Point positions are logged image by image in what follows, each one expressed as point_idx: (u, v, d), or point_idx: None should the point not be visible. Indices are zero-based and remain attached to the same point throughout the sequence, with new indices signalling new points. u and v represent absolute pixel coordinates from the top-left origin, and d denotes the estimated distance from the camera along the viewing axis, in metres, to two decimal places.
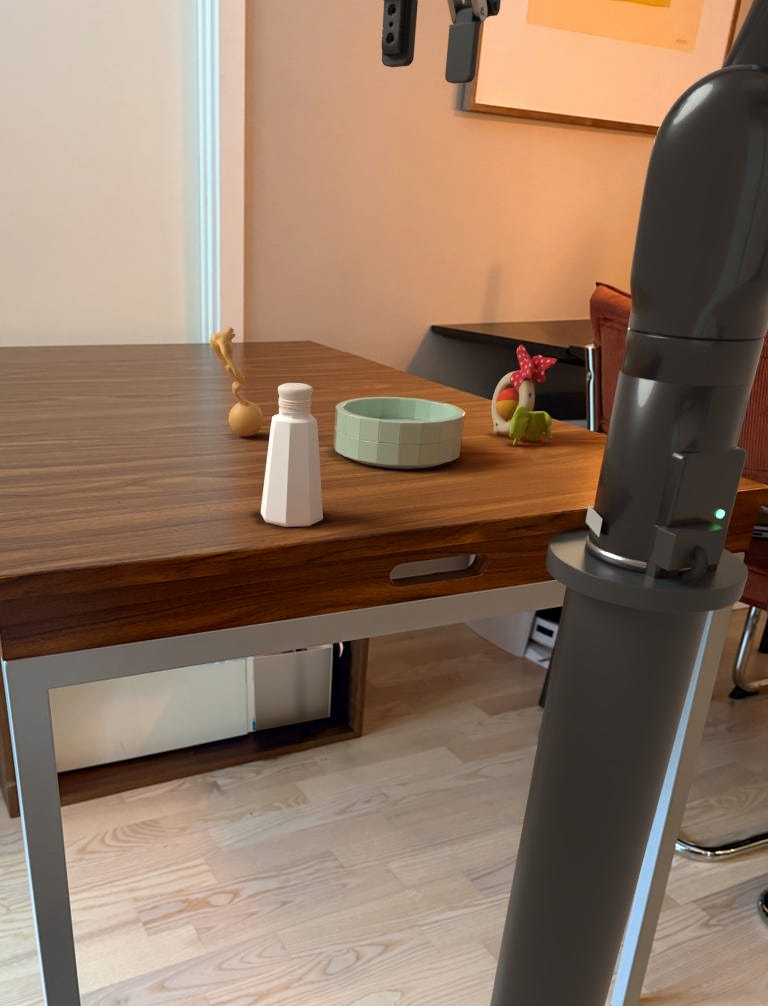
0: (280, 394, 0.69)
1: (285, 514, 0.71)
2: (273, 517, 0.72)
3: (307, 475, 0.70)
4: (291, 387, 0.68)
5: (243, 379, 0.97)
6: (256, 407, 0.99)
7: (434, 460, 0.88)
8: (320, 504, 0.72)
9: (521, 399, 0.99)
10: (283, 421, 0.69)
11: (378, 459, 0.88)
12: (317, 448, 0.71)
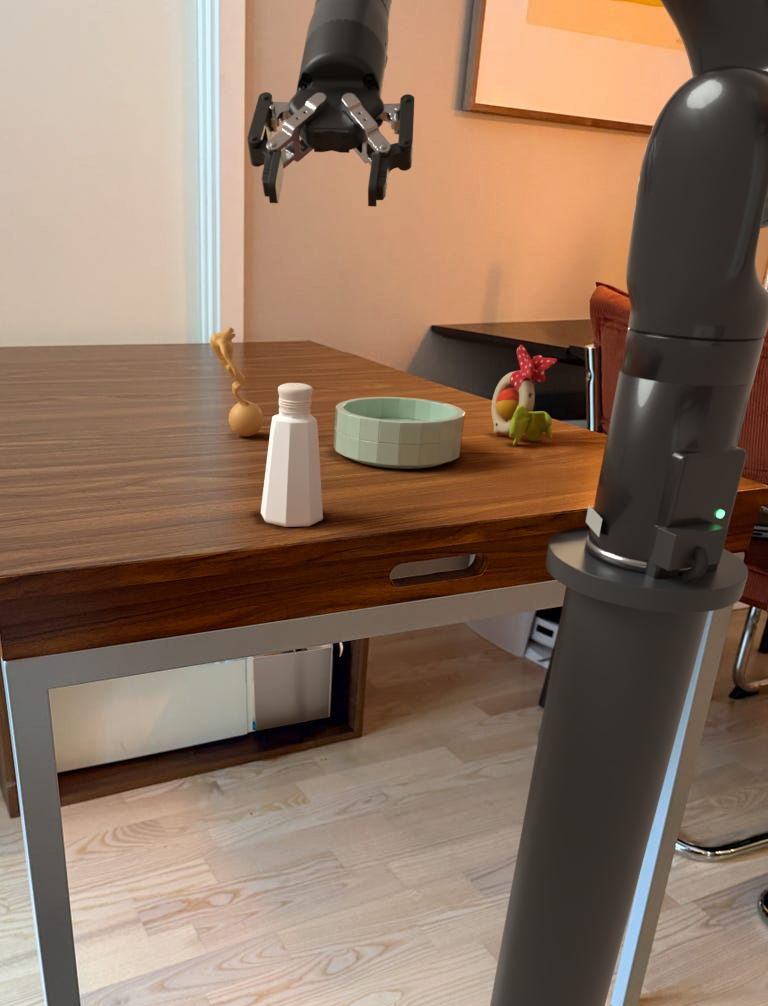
0: (280, 394, 0.69)
1: (285, 514, 0.71)
2: (273, 517, 0.72)
3: (308, 475, 0.70)
4: (291, 387, 0.68)
5: (243, 379, 0.97)
6: (256, 407, 0.99)
7: (434, 460, 0.88)
8: (320, 504, 0.72)
9: (521, 399, 0.99)
10: (283, 421, 0.69)
11: (378, 459, 0.88)
12: (317, 448, 0.71)
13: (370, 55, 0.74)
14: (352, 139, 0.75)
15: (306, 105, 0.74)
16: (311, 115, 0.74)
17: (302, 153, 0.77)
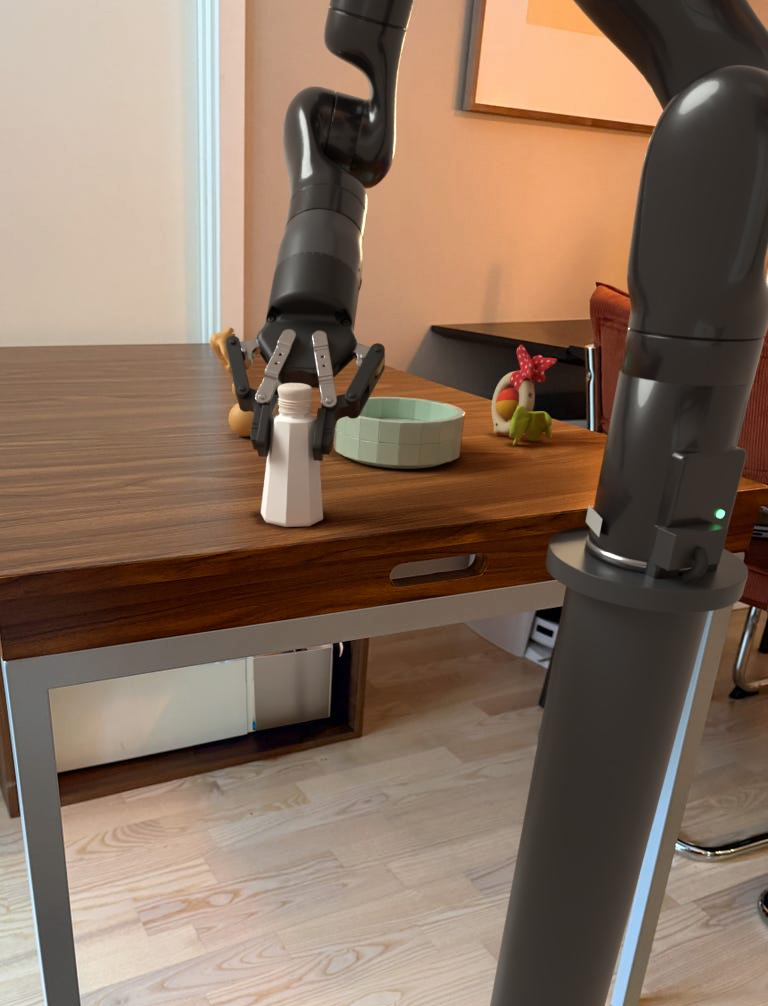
0: (280, 394, 0.69)
1: (285, 514, 0.71)
2: (273, 517, 0.72)
3: (307, 475, 0.70)
4: (291, 387, 0.68)
5: None
6: None
7: (434, 460, 0.88)
8: (320, 504, 0.72)
9: (521, 399, 0.99)
10: (283, 421, 0.69)
11: (378, 459, 0.88)
12: None
13: (342, 290, 0.71)
14: None
15: (278, 346, 0.71)
16: (280, 354, 0.71)
17: None
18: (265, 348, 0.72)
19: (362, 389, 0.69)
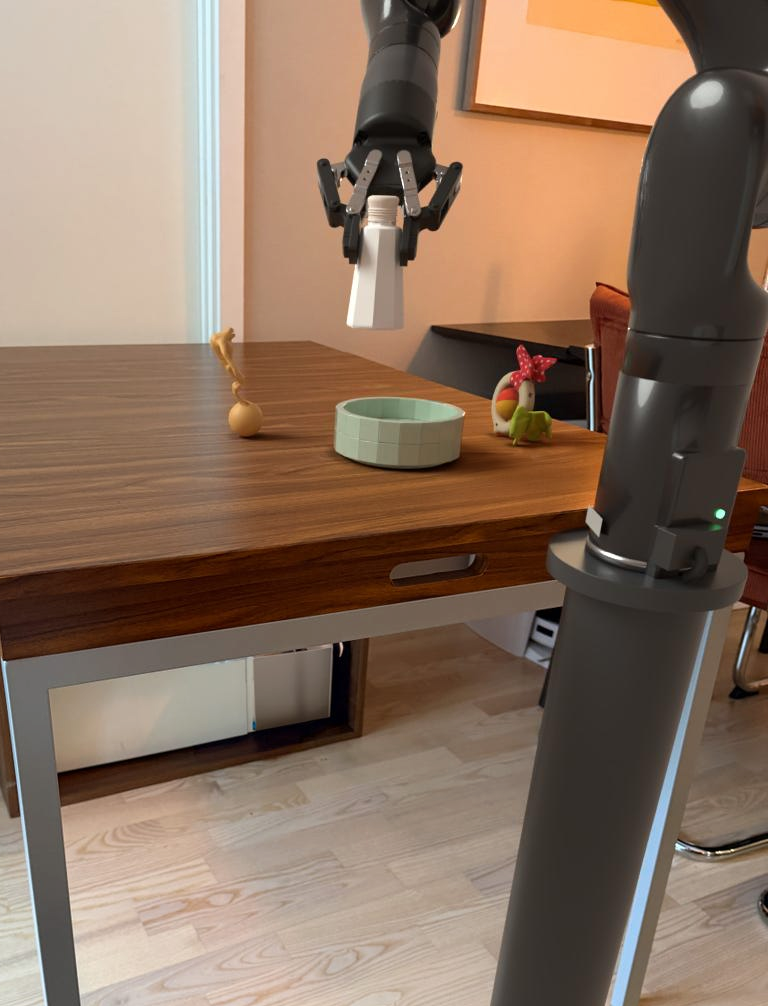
0: (370, 203, 0.76)
1: (372, 317, 0.79)
2: (360, 322, 0.79)
3: (393, 280, 0.78)
4: None
5: (243, 379, 0.97)
6: (256, 407, 0.99)
7: (434, 460, 0.88)
8: (402, 312, 0.80)
9: (521, 399, 0.99)
10: (373, 228, 0.76)
11: (378, 459, 0.88)
12: None
13: (423, 114, 0.78)
14: None
15: (366, 165, 0.78)
16: (368, 171, 0.78)
17: None
18: (353, 168, 0.79)
19: (444, 200, 0.77)
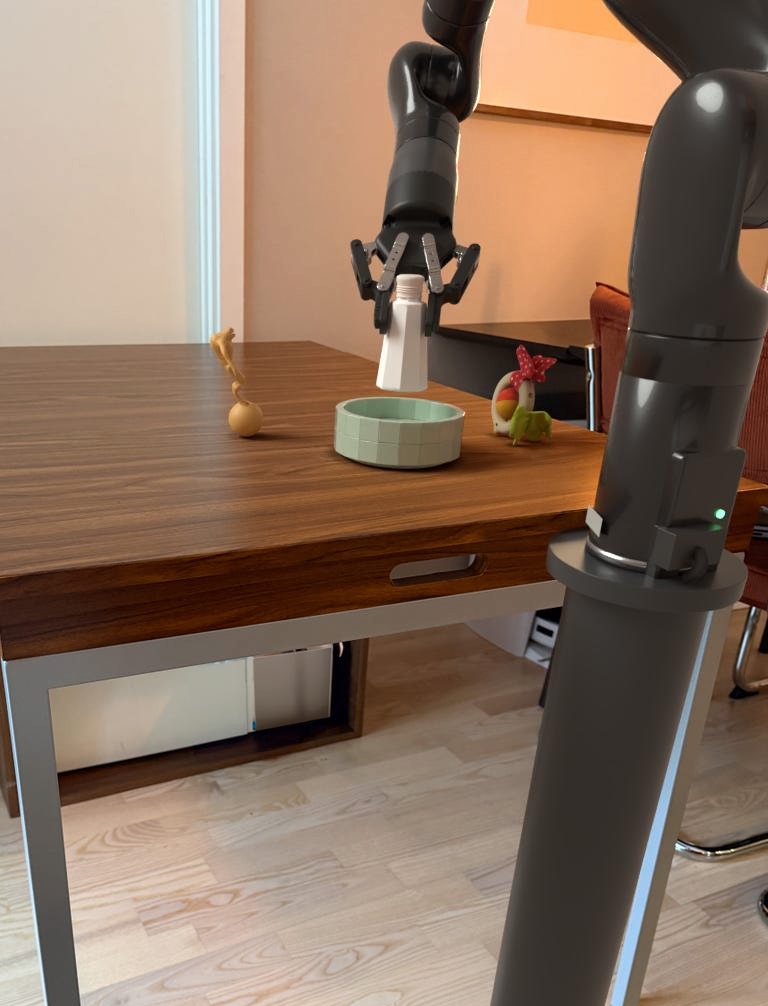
0: (399, 282, 0.86)
1: (399, 381, 0.89)
2: (389, 384, 0.89)
3: (419, 349, 0.88)
4: (408, 275, 0.86)
5: (243, 379, 0.97)
6: (256, 407, 0.99)
7: (434, 460, 0.88)
8: (426, 375, 0.90)
9: (521, 399, 0.99)
10: (401, 303, 0.86)
11: (378, 459, 0.88)
12: None
13: (445, 201, 0.88)
14: None
15: (395, 246, 0.88)
16: (396, 252, 0.88)
17: None
18: (383, 248, 0.89)
19: (464, 278, 0.87)
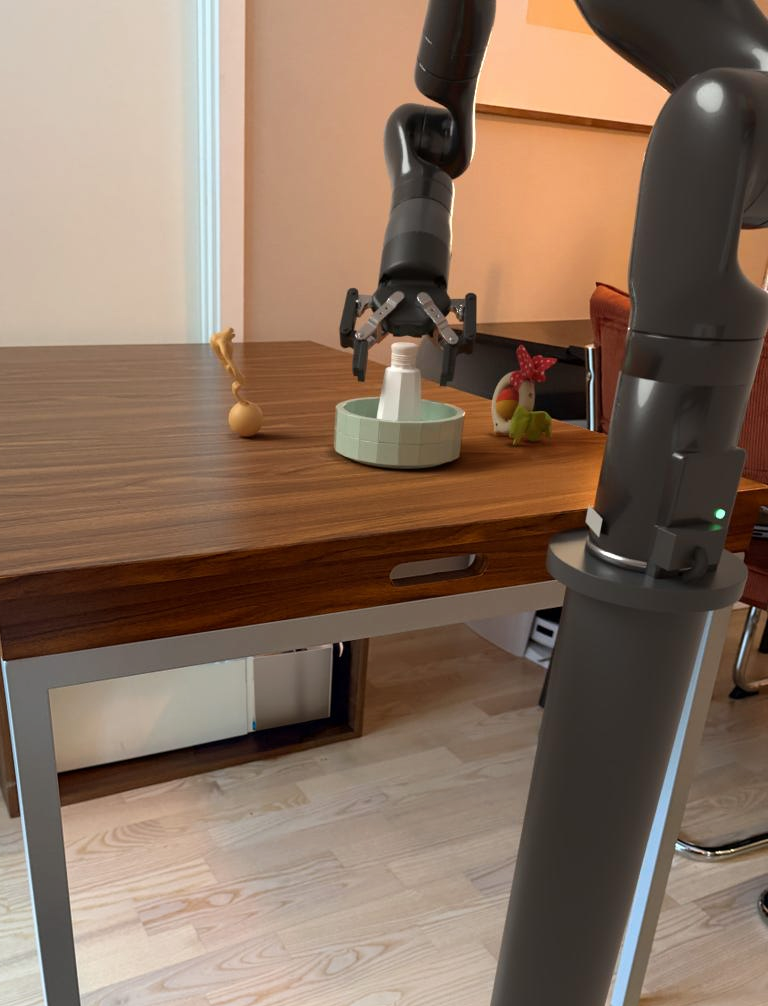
0: (393, 350, 0.89)
1: None
2: None
3: (413, 414, 0.91)
4: (403, 344, 0.89)
5: (243, 379, 0.97)
6: (256, 407, 0.99)
7: (434, 460, 0.88)
8: None
9: (521, 399, 0.99)
10: (395, 371, 0.89)
11: (378, 459, 0.88)
12: (420, 393, 0.91)
13: (440, 260, 0.91)
14: (425, 329, 0.91)
15: (387, 302, 0.91)
16: (392, 310, 0.91)
17: (382, 337, 0.93)
18: (379, 306, 0.92)
19: (475, 328, 0.89)
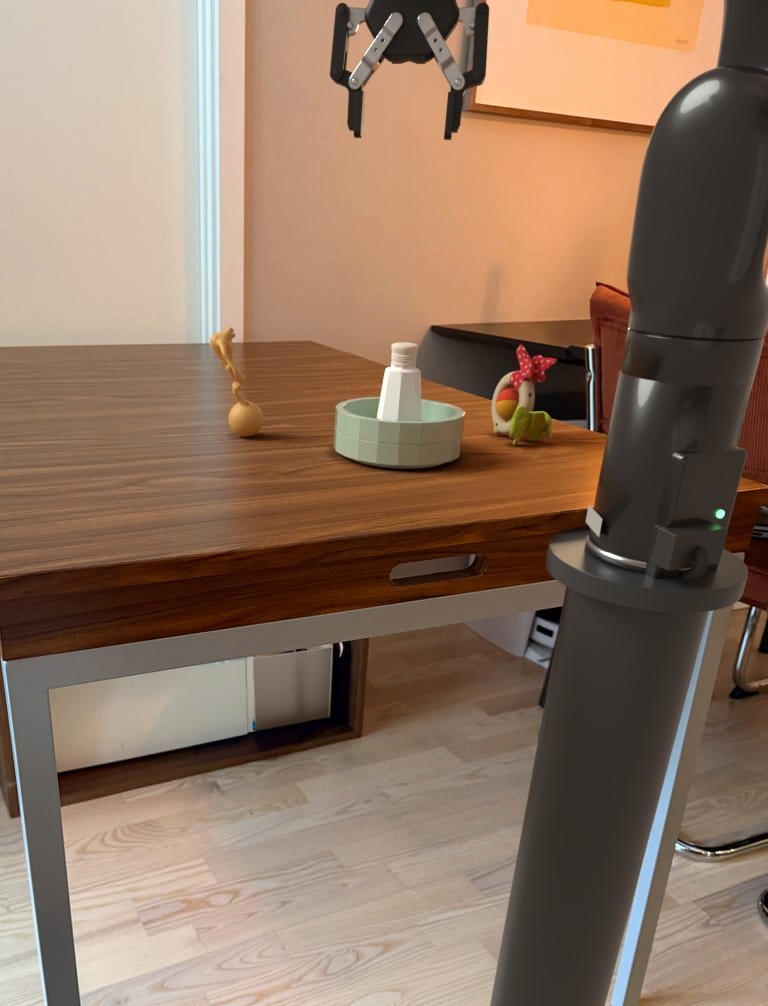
0: (393, 350, 0.89)
1: None
2: None
3: (413, 414, 0.91)
4: (403, 344, 0.89)
5: (243, 379, 0.97)
6: (256, 407, 0.99)
7: (434, 460, 0.88)
8: None
9: (521, 399, 0.99)
10: (395, 371, 0.89)
11: (378, 459, 0.88)
12: (420, 393, 0.91)
13: None
14: (428, 59, 0.79)
15: (383, 30, 0.78)
16: (389, 42, 0.78)
17: (381, 63, 0.81)
18: (374, 31, 0.78)
19: (485, 63, 0.78)
